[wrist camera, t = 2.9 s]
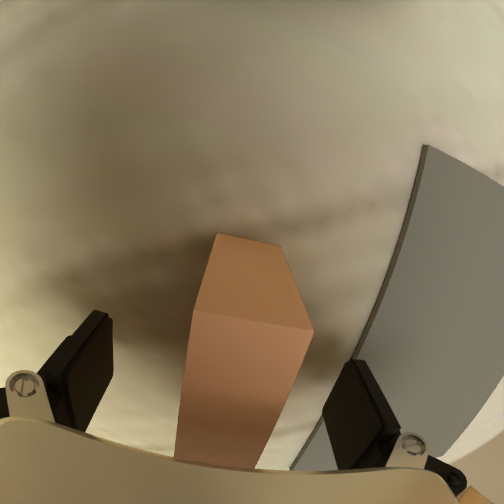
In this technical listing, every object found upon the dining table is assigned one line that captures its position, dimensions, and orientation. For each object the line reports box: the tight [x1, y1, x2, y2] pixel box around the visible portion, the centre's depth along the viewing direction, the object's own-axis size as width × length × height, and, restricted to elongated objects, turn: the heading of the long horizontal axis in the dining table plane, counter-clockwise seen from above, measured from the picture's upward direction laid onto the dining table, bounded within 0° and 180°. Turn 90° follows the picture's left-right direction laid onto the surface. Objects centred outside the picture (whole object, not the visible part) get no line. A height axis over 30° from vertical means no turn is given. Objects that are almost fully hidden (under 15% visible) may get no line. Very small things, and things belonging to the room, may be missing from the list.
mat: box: [290, 145, 504, 471], centre depth 14 cm, size 20×14×1 cm
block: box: [174, 233, 314, 469], centre depth 10 cm, size 9×2×6 cm, turn 167°
